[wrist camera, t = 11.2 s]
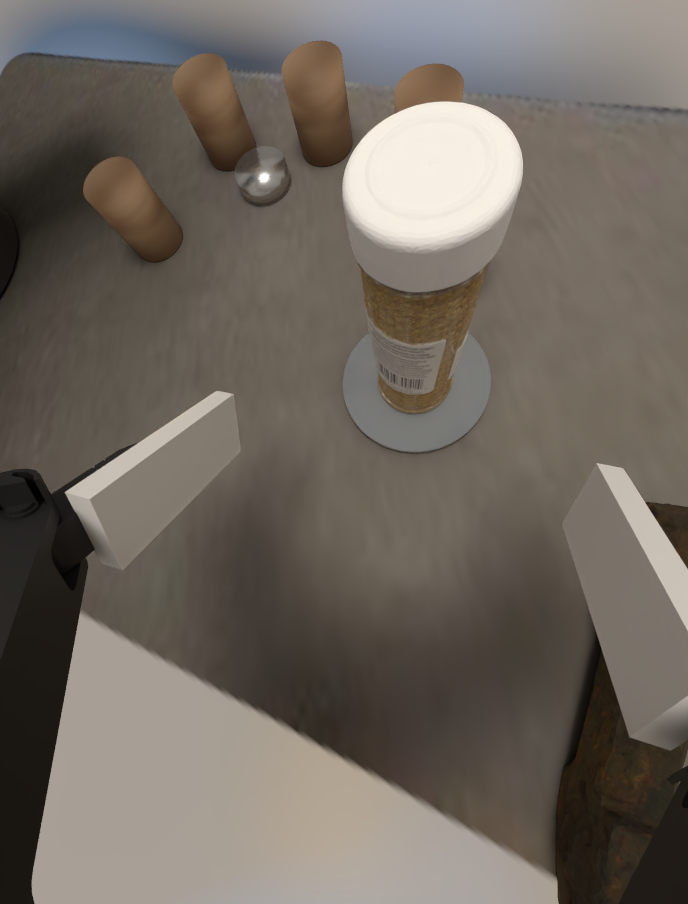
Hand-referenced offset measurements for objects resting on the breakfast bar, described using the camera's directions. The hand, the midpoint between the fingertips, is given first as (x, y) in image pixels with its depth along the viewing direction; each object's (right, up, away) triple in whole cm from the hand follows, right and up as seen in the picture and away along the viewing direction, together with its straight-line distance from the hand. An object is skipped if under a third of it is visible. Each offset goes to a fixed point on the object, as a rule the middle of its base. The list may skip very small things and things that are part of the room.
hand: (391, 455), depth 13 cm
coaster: (+3, +4, +9) cm, 10 cm away
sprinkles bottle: (+3, +4, +9) cm, 10 cm away
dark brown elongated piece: (+12, -12, +4) cm, 18 cm away
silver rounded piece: (-8, +21, +15) cm, 27 cm away
